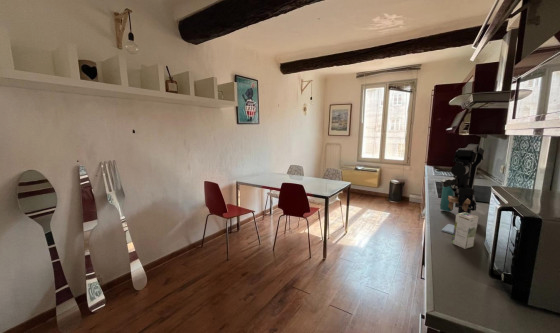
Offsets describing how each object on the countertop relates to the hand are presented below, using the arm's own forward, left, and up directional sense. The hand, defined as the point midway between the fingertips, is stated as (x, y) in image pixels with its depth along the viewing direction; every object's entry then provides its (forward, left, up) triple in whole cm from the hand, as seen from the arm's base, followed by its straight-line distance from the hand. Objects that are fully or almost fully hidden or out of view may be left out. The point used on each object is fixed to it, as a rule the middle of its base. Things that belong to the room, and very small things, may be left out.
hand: (458, 203), depth 118 cm
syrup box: (+19, +7, -14) cm, 24 cm away
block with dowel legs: (0, 0, -3) cm, 3 cm away
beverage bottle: (-24, -11, -14) cm, 30 cm away
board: (+4, +1, -13) cm, 14 cm away
